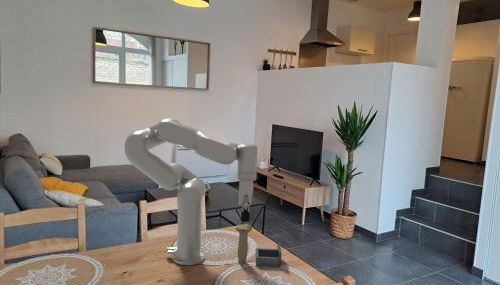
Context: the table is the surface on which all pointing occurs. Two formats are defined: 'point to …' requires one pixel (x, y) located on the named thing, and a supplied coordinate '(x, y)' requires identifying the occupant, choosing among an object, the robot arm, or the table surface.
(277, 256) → the box
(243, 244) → the handle
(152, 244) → the table surface
